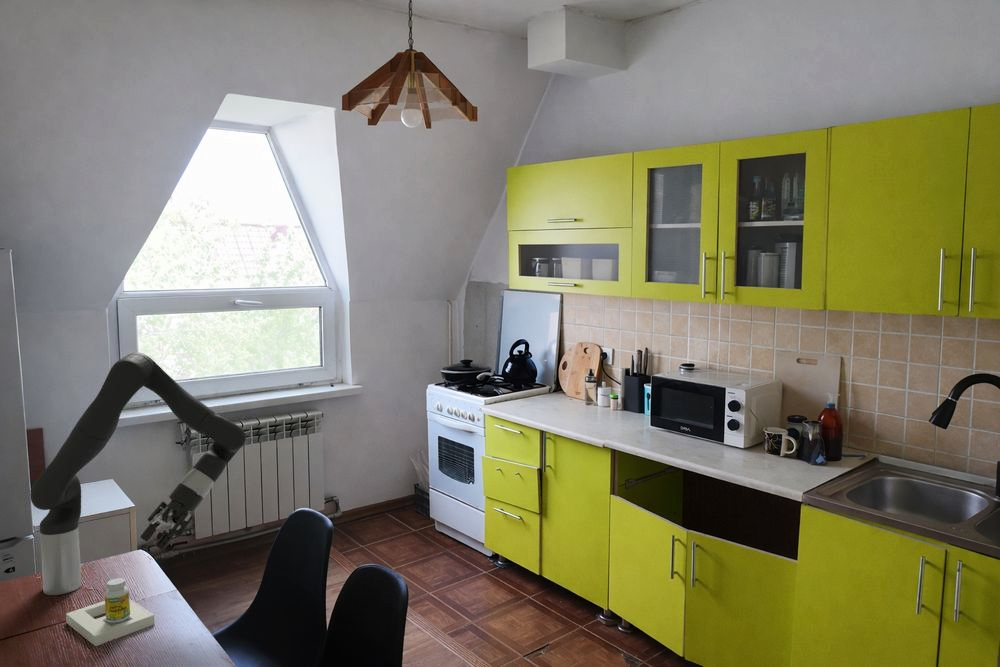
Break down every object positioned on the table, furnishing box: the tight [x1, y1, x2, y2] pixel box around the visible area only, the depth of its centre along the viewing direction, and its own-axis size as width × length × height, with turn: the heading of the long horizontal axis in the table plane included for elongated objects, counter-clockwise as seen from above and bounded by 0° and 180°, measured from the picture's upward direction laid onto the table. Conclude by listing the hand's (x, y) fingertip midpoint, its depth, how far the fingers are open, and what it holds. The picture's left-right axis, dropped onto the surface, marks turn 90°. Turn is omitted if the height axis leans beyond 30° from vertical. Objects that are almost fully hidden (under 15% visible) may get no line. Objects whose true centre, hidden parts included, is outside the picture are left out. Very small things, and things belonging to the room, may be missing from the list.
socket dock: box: [65, 598, 156, 647], centre depth 182 cm, size 18×14×3 cm
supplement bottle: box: [104, 577, 130, 623], centre depth 179 cm, size 5×5×10 cm
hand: (150, 543), depth 184 cm, fingers open, 8 cm apart
